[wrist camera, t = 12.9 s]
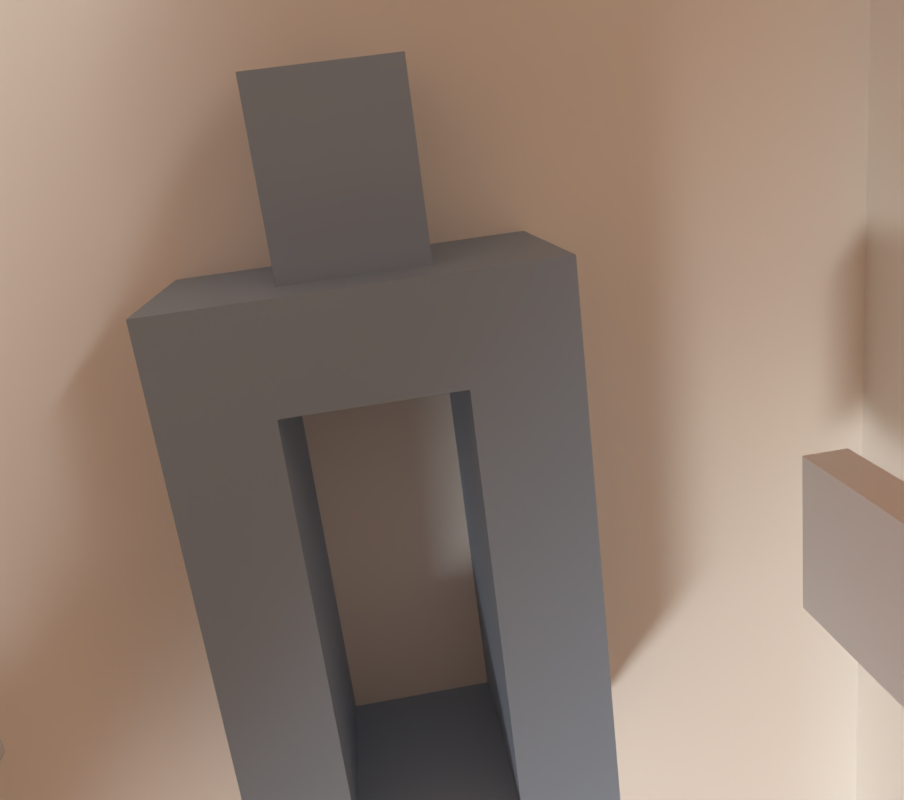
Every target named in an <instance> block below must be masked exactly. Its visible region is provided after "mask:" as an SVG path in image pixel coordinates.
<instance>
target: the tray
mask: <svg viewBox="0 0 904 800" xmlns="http://www.w3.org/2000/svg"><path fill="white" fill-rule="evenodd" d="M402 51H405V57H406V65H407V73H408V80H409V88H410V96H411V103H412V111H413V118H414V126H415V134H416V141H417V149H418V157H419V164H420V172H421V180H422V187H423V195H424V202H425V210H426V218H427V225H428V233H429V241H430V244H434V243H441V242H448V241H455V240H462V239H469V238H476V237H484V236H491V235H498V234H505V233H512V232H519V231H525V232H527V233H530V234H532V235H534V236H536V237H538V238H540V239H543V240H545V241H547V242H549V243H551V244H554V245H556V246H558V247H560V248H562V249H564V250H567V251H569V252H571V253H573V254H575V255H576V261H577V273H578V285H579V298H580V310H581V322H582V334H583V347H584V359H585V371H586V384H587V396H588V408H589V421H590V433H591V445H592V457H593V470H594V482H595V494H596V507H597V519H598V531H599V544H600V556H601V568H602V580H603V593H604V605H605V617H606V630H607V642H608V654H609V666H610V679H611V691H612V703H613V716H614V728H615V740H616V753H617V765H618V777H619V789H620V800H904V708H903V707H902V706H901V705H900V704H899V703H898V702H897V701H896V700H895V699H894V698H893V697H892V696H891V695H890V694H889V693H888V692H887V691H886V690H885V689H884V688H883V687H882V686H881V685H880V684H879V683H878V682H877V681H876V680H875V679H874V678H873V677H872V676H871V675H870V674H869V673H868V672H867V671H866V670H865V669H864V668H863V667H862V666H861V665H860V664H859V663H858V662H857V661H856V660H855V659H854V658H853V657H852V656H851V655H850V654H849V653H848V652H847V651H846V650H845V649H844V648H843V647H842V646H841V645H840V644H839V643H838V642H837V641H836V640H835V639H834V638H833V637H832V636H831V635H830V634H829V633H828V632H827V631H826V630H825V629H824V628H823V627H822V626H821V625H820V624H819V623H818V622H817V621H816V620H815V619H814V618H813V617H812V616H811V615H810V614H809V613H808V612H807V611H806V610H805V609H804V608H803V505H802V456H804V455H810V454H816V453H822V452H828V451H834V450H840V449H846V448H848V449H850V450H852V451H853V452H855V453H857V454H858V455H860V456H862V457H863V458H865V459H867V460H868V461H870V462H872V463H873V464H875V465H877V466H879V467H880V468H882V469H884V470H885V471H887V472H889V473H890V474H892V475H894V476H895V477H897V478H899V479H900V480H902V481H904V0H0V737H1V740H2V743H3V746H4V749H5V754H4V756H3V757H2V759H1V761H0V800H242V799H241V795H240V791H239V787H238V782H237V778H236V774H235V770H234V766H233V762H232V758H231V753H230V749H229V745H228V741H227V737H226V733H225V729H224V724H223V720H222V716H221V712H220V708H219V704H218V700H217V695H216V691H215V687H214V683H213V679H212V675H211V671H210V666H209V662H208V658H207V654H206V650H205V646H204V642H203V637H202V633H201V629H200V625H199V621H198V617H197V613H196V608H195V604H194V600H193V596H192V592H191V588H190V584H189V579H188V575H187V571H186V567H185V563H184V559H183V555H182V550H181V546H180V542H179V538H178V534H177V530H176V526H175V521H174V517H173V513H172V509H171V505H170V501H169V497H168V492H167V488H166V484H165V480H164V476H163V472H162V468H161V463H160V459H159V455H158V451H157V447H156V443H155V439H154V434H153V430H152V426H151V422H150V418H149V414H148V410H147V405H146V401H145V397H144V393H143V389H142V385H141V381H140V376H139V372H138V368H137V364H136V360H135V356H134V352H133V347H132V343H131V339H130V335H129V331H128V327H127V323H126V319H127V318H128V317H130V316H131V315H132V314H133V313H135V312H136V311H137V310H138V309H140V308H141V307H142V306H143V305H145V304H146V303H147V302H148V301H150V300H151V299H152V298H154V297H155V296H156V295H157V294H159V293H160V292H161V291H162V290H164V289H165V288H166V287H167V286H169V285H170V284H171V283H172V282H174V281H175V280H178V279H185V278H192V277H199V276H206V275H213V274H221V273H228V272H235V271H242V270H249V269H256V268H263V267H270V266H272V265H271V260H270V255H269V249H268V244H267V239H266V233H265V228H264V223H263V217H262V212H261V206H260V201H259V196H258V190H257V185H256V180H255V174H254V169H253V164H252V158H251V153H250V148H249V142H248V137H247V131H246V126H245V121H244V115H243V110H242V105H241V99H240V94H239V89H238V83H237V78H236V72H238V71H246V70H254V69H263V68H271V67H279V66H287V65H295V64H304V63H312V62H320V61H328V60H336V59H345V58H353V57H361V56H369V55H377V54H386V53H394V52H402ZM302 419H303V424H304V429H305V435H306V440H307V445H308V451H309V456H310V462H311V467H312V472H313V478H314V483H315V489H316V494H317V499H318V505H319V510H320V515H321V521H322V526H323V532H324V537H325V542H326V548H327V553H328V559H329V564H330V569H331V575H332V580H333V585H334V591H335V596H336V602H337V607H338V612H339V618H340V623H341V628H342V634H343V639H344V645H345V650H346V655H347V661H348V666H349V672H350V677H351V682H352V688H353V693H354V698H355V704H356V706H360V705H366V704H371V703H377V702H382V701H388V700H393V699H399V698H404V697H410V696H415V695H420V694H426V693H431V692H437V691H442V690H448V689H453V688H459V687H464V686H470V685H475V684H480V683H486V682H487V675H486V667H485V660H484V652H483V644H482V637H481V629H480V621H479V614H478V606H477V598H476V591H475V583H474V576H473V568H472V560H471V553H470V545H469V537H468V530H467V522H466V515H465V507H464V499H463V492H462V484H461V476H460V469H459V461H458V453H457V446H456V438H455V431H454V423H453V415H452V408H451V400H450V393H446V394H440V395H433V396H427V397H421V398H414V399H408V400H401V401H395V402H388V403H382V404H375V405H369V406H363V407H356V408H350V409H343V410H337V411H330V412H324V413H317V414H311V415H305V416H302Z"/></svg>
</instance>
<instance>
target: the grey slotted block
mask: <svg viewBox="0 0 904 800" xmlns="http://www.w3.org/2000/svg"><path fill="white" fill-rule="evenodd" d="M236 78H237V83H238V89H239V94H240V99H241V105H242V110H243V115H244V121H245V126H246V131H247V137H248V142H249V148H250V153H251V158H252V164H253V169H254V174H255V180H256V185H257V190H258V196H259V201H260V206H261V212H262V217H263V223H264V228H265V233H266V239H267V244H268V249H269V255H270V260H271V265H272V266H270V267H263V268H256V269H249V270H242V271H235V272H228V273H221V274H213V275H206V276H199V277H192V278H185V279H178V280H175V281H174V282H172V283H171V284H170V285H169V286H167V287H166V288H165V289H164V290H162V291H161V292H160V293H159V294H157V295H156V296H155V297H154V298H152V299H151V300H150V301H148V302H147V303H146V304H145V305H143V306H142V307H141V308H140V309H138V310H137V311H136V312H135V313H133V314H132V315H131V316H130V317H128V318H127V319H126V323H127V327H128V331H129V335H130V339H131V343H132V347H133V352H134V356H135V360H136V364H137V368H138V372H139V376H140V381H141V385H142V389H143V393H144V397H145V401H146V405H147V410H148V414H149V418H150V422H151V426H152V430H153V434H154V439H155V443H156V447H157V451H158V455H159V459H160V463H161V468H162V472H163V476H164V480H165V484H166V488H167V492H168V497H169V501H170V505H171V509H172V513H173V517H174V521H175V526H176V530H177V534H178V538H179V542H180V546H181V550H182V555H183V559H184V563H185V567H186V571H187V575H188V579H189V584H190V588H191V592H192V596H193V600H194V604H195V608H196V613H197V617H198V621H199V625H200V629H201V633H202V637H203V642H204V646H205V650H206V654H207V658H208V662H209V666H210V671H211V675H212V679H213V683H214V687H215V691H216V695H217V700H218V704H219V708H220V712H221V716H222V720H223V724H224V729H225V733H226V737H227V741H228V745H229V749H230V753H231V758H232V762H233V766H234V770H235V774H236V778H237V782H238V787H239V791H240V795H241V799H242V800H620V789H619V777H618V765H617V753H616V740H615V728H614V716H613V703H612V691H611V679H610V666H609V654H608V642H607V630H606V617H605V605H604V593H603V580H602V568H601V556H600V544H599V531H598V519H597V507H596V494H595V482H594V470H593V457H592V445H591V433H590V421H589V408H588V396H587V384H586V371H585V359H584V347H583V334H582V322H581V310H580V298H579V285H578V273H577V261H576V255H575V254H573V253H571V252H569V251H567V250H564V249H562V248H560V247H558V246H556V245H554V244H551V243H549V242H547V241H545V240H543V239H540V238H538V237H536V236H534V235H532V234H530V233H527V232H525V231H519V232H512V233H505V234H498V235H491V236H484V237H476V238H469V239H462V240H455V241H448V242H441V243H434V244H430V241H429V233H428V225H427V218H426V210H425V202H424V195H423V187H422V180H421V172H420V164H419V157H418V149H417V141H416V134H415V126H414V118H413V111H412V103H411V96H410V88H409V80H408V73H407V65H406V57H405V51H402V52H394V53H386V54H377V55H369V56H361V57H353V58H345V59H336V60H328V61H320V62H312V63H304V64H295V65H287V66H279V67H271V68H263V69H254V70H246V71H238V72H236ZM446 393H450V400H451V408H452V415H453V423H454V431H455V438H456V446H457V453H458V461H459V469H460V476H461V484H462V492H463V499H464V507H465V515H466V522H467V530H468V537H469V545H470V553H471V560H472V568H473V576H474V583H475V591H476V598H477V606H478V614H479V621H480V629H481V637H482V644H483V652H484V660H485V667H486V675H487V682H486V683H480V684H475V685H470V686H464V687H459V688H453V689H448V690H442V691H437V692H431V693H426V694H420V695H415V696H410V697H404V698H399V699H393V700H388V701H382V702H377V703H371V704H366V705H360V706H356V704H355V698H354V693H353V688H352V682H351V677H350V672H349V666H348V661H347V655H346V650H345V645H344V639H343V634H342V628H341V623H340V618H339V612H338V607H337V602H336V596H335V591H334V585H333V580H332V575H331V569H330V564H329V559H328V553H327V548H326V542H325V537H324V532H323V526H322V521H321V515H320V510H319V505H318V499H317V494H316V489H315V483H314V478H313V472H312V467H311V462H310V456H309V451H308V445H307V440H306V435H305V429H304V424H303V419H302V416H305V415H311V414H317V413H324V412H330V411H337V410H343V409H350V408H356V407H363V406H369V405H375V404H382V403H388V402H395V401H401V400H408V399H414V398H421V397H427V396H433V395H440V394H446Z"/></svg>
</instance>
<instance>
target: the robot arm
mask: <svg viewBox="0 0 904 800" xmlns="http://www.w3.org/2000/svg"><path fill="white" fill-rule="evenodd" d="M802 505H803V608H804V609H805V610H806V611H807V612H808V613H809V614H810V615H811V616H812V617H813V618H814V619H815V620H816V621H817V622H818V623H819V624H820V625H821V626H822V627H823V628H824V629H825V630H826V631H827V632H828V633H829V634H830V635H831V636H832V637H833V638H834V639H835V640H836V641H837V642H838V643H839V644H840V645H841V646H842V647H843V648H844V649H845V650H846V651H847V652H848V653H849V654H850V655H851V656H852V657H853V658H854V659H855V660H856V661H857V662H858V663H859V664H860V665H861V666H862V667H863V668H864V669H865V670H866V671H867V672H868V673H869V674H870V675H871V676H872V677H873V678H874V679H875V680H876V681H877V682H878V683H879V684H880V685H881V686H882V687H883V688H884V689H885V690H886V691H887V692H888V693H889V694H890V695H891V696H892V697H893V698H894V699H895V700H896V701H897V702H898V703H899V704H900V705H901V706H902V707H903V708H904V481H902V480H900V479H899V478H897V477H895V476H894V475H892V474H890V473H889V472H887V471H885V470H884V469H882V468H880V467H879V466H877V465H875V464H873V463H872V462H870V461H868V460H867V459H865V458H863V457H862V456H860V455H858V454H857V453H855V452H853V451H852V450H850V449H848V448H846V449H840V450H834V451H828V452H822V453H816V454H810V455H804V456H802ZM4 754H5V749H4V746H3V743H2V740H1V737H0V761H1V759H2V757H3V756H4Z"/></svg>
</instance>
